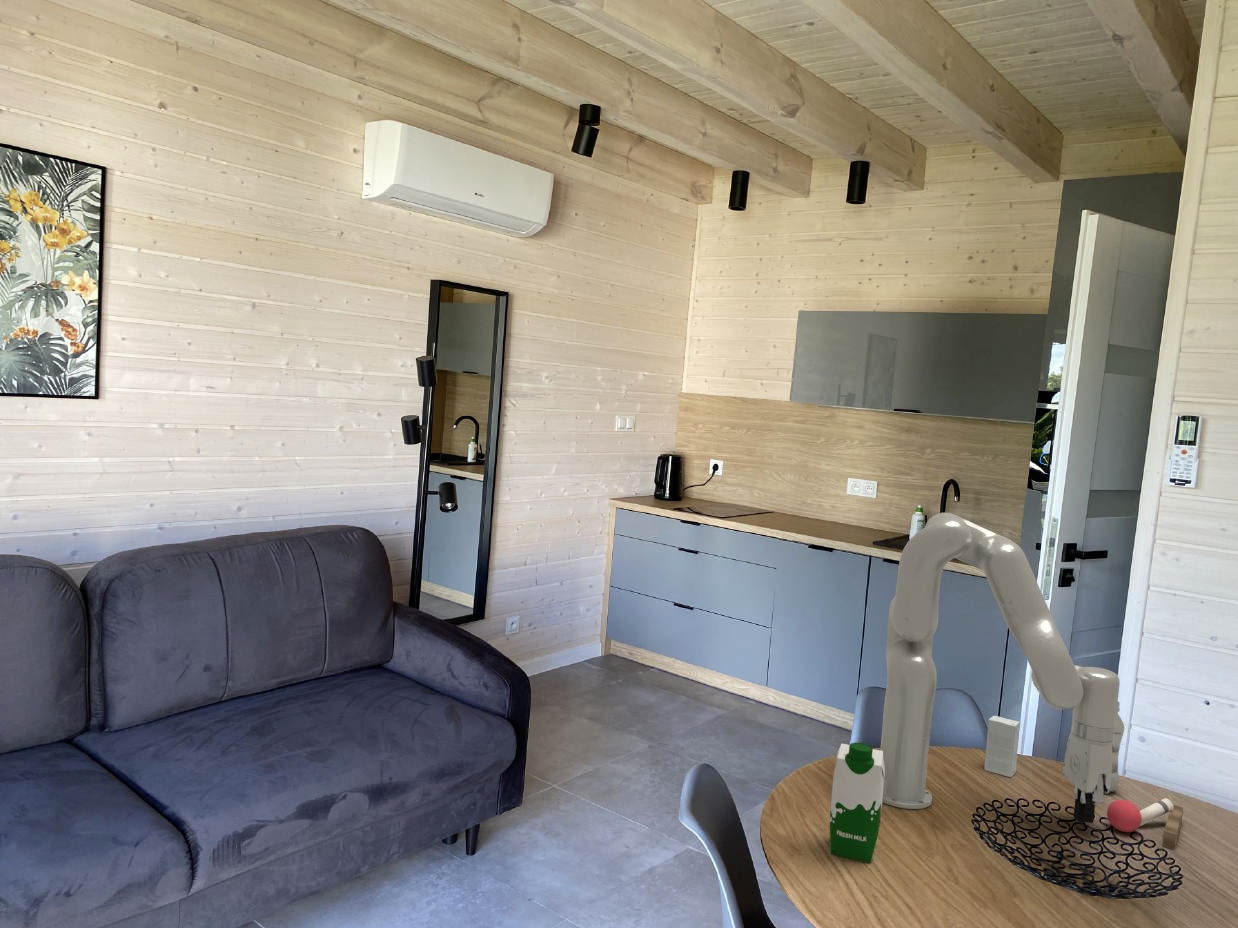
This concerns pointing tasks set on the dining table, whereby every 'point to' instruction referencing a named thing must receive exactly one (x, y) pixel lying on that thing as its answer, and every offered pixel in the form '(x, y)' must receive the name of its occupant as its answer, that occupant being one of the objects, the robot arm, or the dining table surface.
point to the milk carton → (856, 801)
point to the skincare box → (1002, 746)
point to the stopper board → (1172, 827)
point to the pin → (1155, 810)
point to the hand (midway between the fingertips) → (1083, 820)
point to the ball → (1124, 815)
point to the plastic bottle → (1116, 750)
